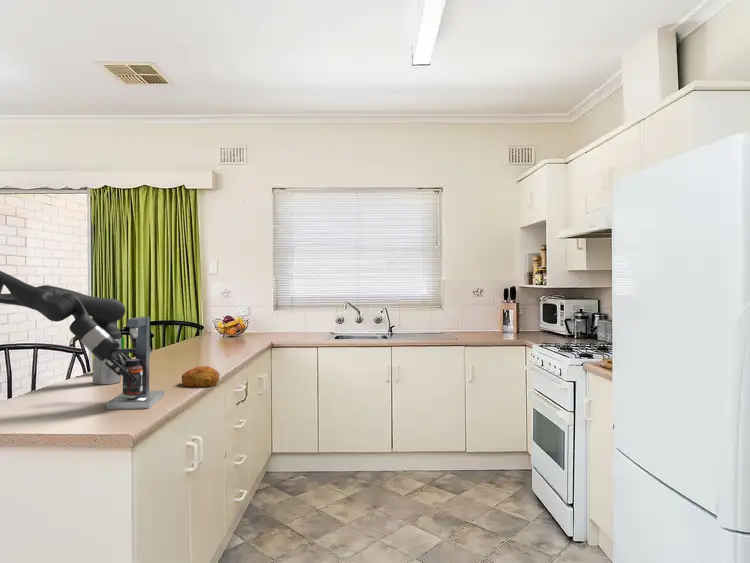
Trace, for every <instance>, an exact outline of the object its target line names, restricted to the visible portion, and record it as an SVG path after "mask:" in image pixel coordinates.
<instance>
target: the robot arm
mask: <svg viewBox="0 0 750 563" xmlns="http://www.w3.org/2000/svg"><path fill="white" fill-rule="evenodd" d="M4 286H5V287H6V289H7V290H8V291H9V293H2V291H3V288H4ZM0 304H4V305H12V306H13V305H14V306H20V307H24V308H28V309H32V310H35V311H37V312H38V313H40V314H41V315H43V316H44V317H45V318H47V320H49V321H51V322H58V323H59V322H62V321H65V319H67V318H69V317H71V316H73V318H74V320H73V321H72V323H71V324H70V325H69V327H68V328H69V329H68V330H69V331H70V332H71V333H72V335H74V336H75V337H76V338H77V339H78V340H79V341H80V342H81V343H82V344H83V345H84V347H85V348H87V350H89V352H90V353H91V354H92V355H93V356H94V358H93V360H92V384H95V385H115V384H117V383H120V382H121V379H122V378H121V377H123V376H124V377H125V378H126V379H127V380H128V381H129V382H130V383H132V384H133V383H134V382H135V381H136V380H137V377H136V376H135V375H133V374H132V373H131V372H130V371H129V370H128V368H127V367H126V360H128V359H132V358H131V356H130V355H129V353H126V352H124V353H120V352H119V351H118V349H121V337H122V332H121V331H120V329H119V328H118V321H119V320H121V319H122V318H123V317H124V316H125V315H126V307H125V305H124V304H123V303H122V302H121V301H120V300H119V299H116V298H109V297H108V298H105V297H97V296H91V295H88V294H84V293H81V292H77V291H75V290H70V289H66V288H64V287H58V286H54V285H49V284H45V285H39V286H33V285H31V284H28V283H26V282H24V281H23V280H20V279H18V278H17V277H14V276H12V275H10V274H8V273H6V272H4V271H1V270H0ZM128 371H129V372H128ZM143 376H144V375H143Z"/></svg>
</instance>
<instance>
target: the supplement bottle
mask: <svg viewBox="0 0 750 563" xmlns="http://www.w3.org/2000/svg"><path fill="white" fill-rule="evenodd" d="M139 363H140V362H139V359H136V358H131V359H128V360H126V367H127V368H128V370H129V371H130V372H131V373H132V374H133V375H135V376H136V377H137V380H136V381H135V382H134V383H133V384H132V383H130V382H129V381H128V380H127V379H126V378H125V377H124V376H122V393H123V395H126V396H133V395H139V394H141V393H142V377H143V369H142V366H140V364H139ZM129 371H128V372H129Z"/></svg>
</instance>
